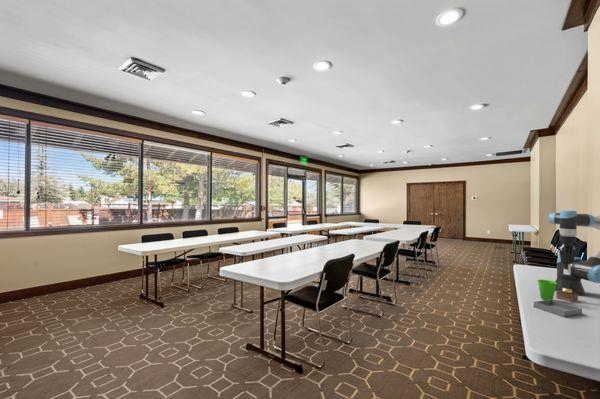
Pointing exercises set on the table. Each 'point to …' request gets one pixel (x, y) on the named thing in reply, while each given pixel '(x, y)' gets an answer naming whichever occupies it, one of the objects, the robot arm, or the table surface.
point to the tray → (558, 308)
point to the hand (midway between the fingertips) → (567, 274)
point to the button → (567, 291)
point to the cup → (547, 289)
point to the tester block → (567, 296)
